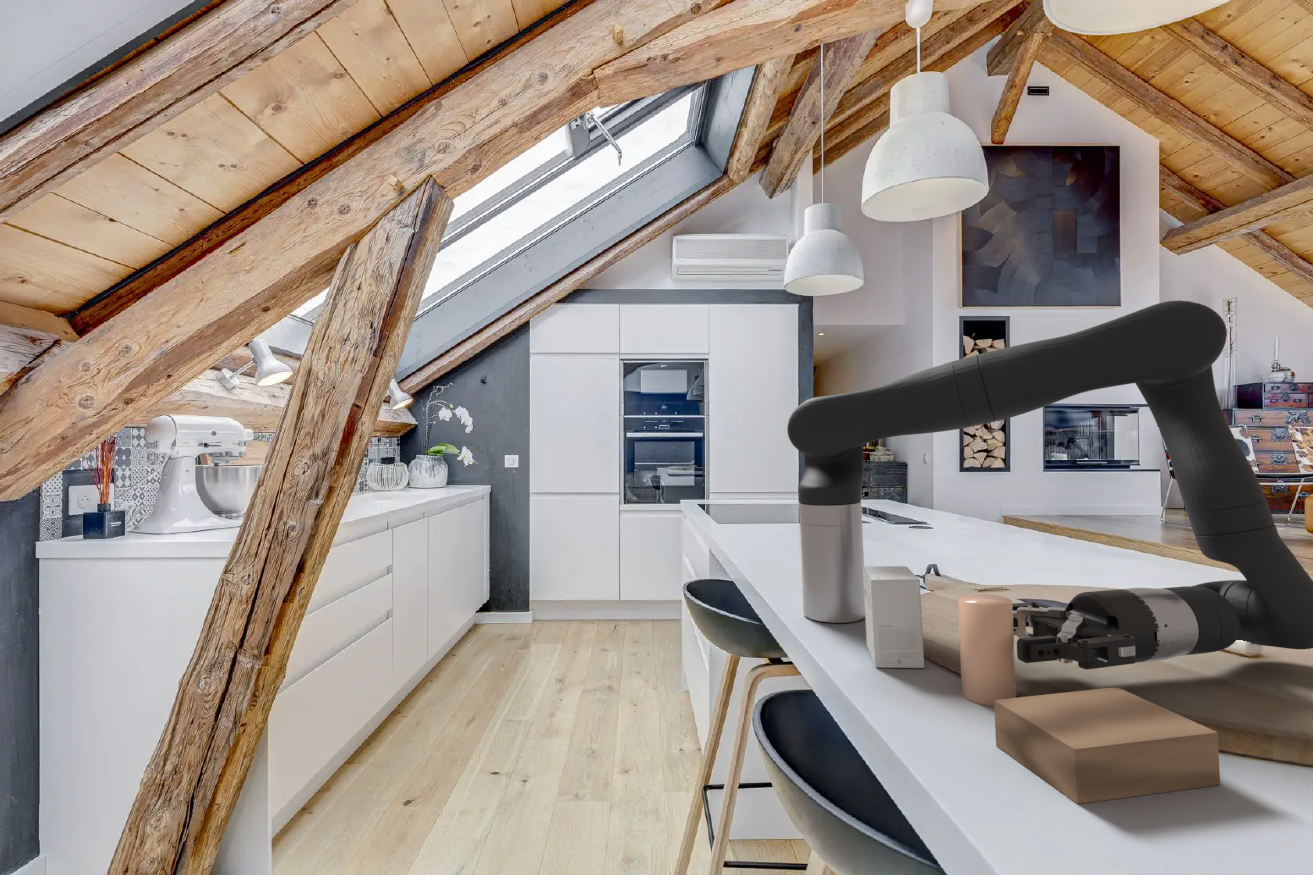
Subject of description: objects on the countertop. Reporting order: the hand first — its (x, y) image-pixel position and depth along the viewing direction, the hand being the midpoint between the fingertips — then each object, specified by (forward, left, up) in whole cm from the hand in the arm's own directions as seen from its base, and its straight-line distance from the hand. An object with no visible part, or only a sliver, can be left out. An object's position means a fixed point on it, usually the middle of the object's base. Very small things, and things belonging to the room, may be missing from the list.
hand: (991, 637), depth 66 cm
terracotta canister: (0, -1, -6) cm, 6 cm away
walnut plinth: (+14, -1, -6) cm, 15 cm away
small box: (-13, -4, -6) cm, 15 cm away
